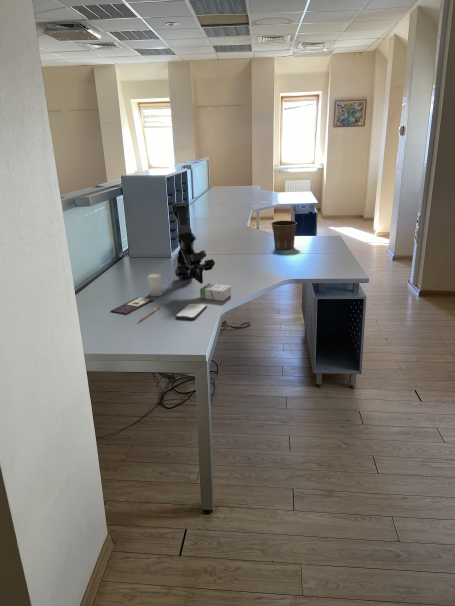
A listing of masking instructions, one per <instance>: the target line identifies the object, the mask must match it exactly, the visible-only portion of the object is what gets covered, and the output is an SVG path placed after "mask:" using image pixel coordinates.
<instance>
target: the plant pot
mask: <svg viewBox="0 0 455 606" xmlns="http://www.w3.org/2000/svg"><path fill="white" fill-rule="evenodd" d="M297 224H298V222H297V221H296V220H295V221H294V220H277V221H273V222H271V223H270V225H271V227H272V232H273V241H274V243H273V244H274V249H276V250H281V251H284V250H292V249H294V246H295V238H296V236H295V235H296V229H297Z"/></svg>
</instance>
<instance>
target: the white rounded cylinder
mask: <svg viewBox="0 0 455 606" xmlns="http://www.w3.org/2000/svg"><path fill="white" fill-rule="evenodd" d="M147 281H148V282H147V283H148V292H149V296H151V297H158V296H162V295H163V294H164V288H163V279H162V274H160V273H152V274H149V275H147Z"/></svg>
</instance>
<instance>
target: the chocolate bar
mask: <svg viewBox="0 0 455 606" xmlns="http://www.w3.org/2000/svg"><path fill="white" fill-rule="evenodd" d="M152 302H153V299H150V298H149V299H148V298H143V297H135V298H134V299H131V300H130V301H127V302H125V303H124V304H122V305H119V306H117V307H116V308H113V309H112V310H110V313H116V314H120V315H125V316H126V315H127V316H128V315H129V314H132V313H133V312H135V311H137V310H138V309H141V308H142V307H145V306H146V305H149V304H150V303H152Z"/></svg>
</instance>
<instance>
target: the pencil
mask: <svg viewBox="0 0 455 606" xmlns="http://www.w3.org/2000/svg"><path fill="white" fill-rule="evenodd" d="M160 309H161V306H157V307H156V308H154V309H153V310H152V311H150V312H148V313H147V314H146V315H144V316H143V317H141V318H140V319H139V320H138V321H137V324H139V323H141V322H143V321H144V320H146V319H147V318H148V317H150V316H151V315H152V314H154V313H156V312H157V311H158V310H160Z"/></svg>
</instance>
